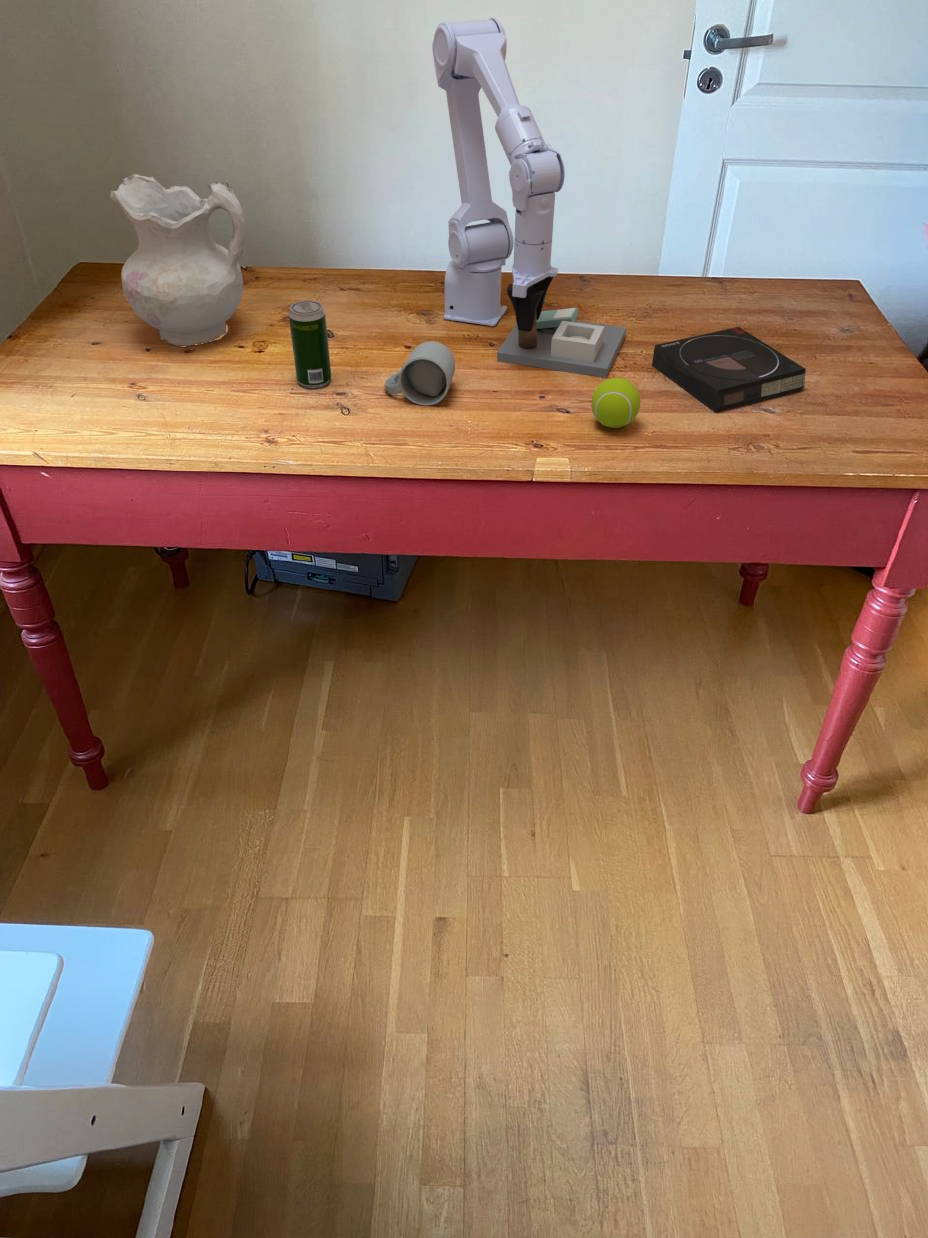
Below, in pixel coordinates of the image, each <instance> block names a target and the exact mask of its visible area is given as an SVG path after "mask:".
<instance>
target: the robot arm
mask: <svg viewBox="0 0 928 1238" xmlns="http://www.w3.org/2000/svg"><path fill="white" fill-rule="evenodd" d="M433 36H434V37H433V41H432V46H431V47H432V55H433V56H432V57H433V62H434V63H433V64H434V68H435V76H436V81H437V85H438V87H439V88H440V89H442V90H444V91H445V93H446V102H447V109H448V115H449V122H450V130H451V135H452V136H451V137H452V143H453V151H454V160H455V165H456V172H457V181H458V185H459V186H458V187H459V193H460V194H459V195H460V201H461V205H460V206H459V207H458V209H456V211H455V212H454V213H453V215H452V216H450V218H449V220H448V224H447V225H448V241H447V243H448V253H449V255H450V259H451V260H450V262H449V263H448V265H447V267H446V271H445V276H444V315H443V319H444V320H447V321H455V322H463V323H470V324H474V325H475V324H477V325H484V326H490V327H495V326H496V325H497V323H499V321H500V320H501V318H502V317H503V316H504V314H505V313H506V312H507V310H508V306H507V305H501V297H502V296H501V295H502V294H501V293H502V292H501V291H502V268H503V266H506V260H507V259H509V258H510V257H511V255H512V253H513V263H512V266H511V274H512V281H513V283H509V284H508V286H507V287H506V293H507V294H506V295H507V296H508V298H509V299H510V302H511V304H512V307H513V311H514V315H515V321H516V324H517V326H518V330H520V331H527V332H531V330H532V328H533V324H534V320H535V315H536V320H538V319H539V317H540V314H541V311H543V306H544V301H545V299H546V295H547V294H548V293H547V292H548V290H549V288H550V285H551V283H552V281H553V280H554V277H557V274H558V273H559V269H558V268H556V267H552V264H551V262H552V249H553V248H552V245H553V235H554V233H553V231H554V220H555V219H554V218H555V217H554V216H555V204H556V203H555V201H556V193H558V192H560V191H561V190H562V189H563V186H564V183H565V178H566V177H565V176H566V175H565V174H566V172H565V171H566V170H565V164H564V161H563V157H562V154H561V153H560V151H559V150H558V149H556V148H554V147H552V145H551V144H550V143H546V141H545V140H544V137H543V135H542V133H541V131H540V129H539V126H538V125H537V122H536V120H535V117H534V115H533V113H532V111H531V109H530V108H529V107H528V106H526V105H521V104H520V102H519V99H518V96H517V92H516V91H515V87H514V85H513V82H512V79H511V75H510V73H509V69H508V67H507V64H506V58H507V51H508V49H507V47H508V46H507V43H508V42H507V38H506V37H507V36H506V33H505V29H504V27H503V25H502V23H501V22H500V20H499V19H498V18H496V17H491V18H488V19H480V20H468V21H466V20H465V21H454V22H447V21H442V22H440V23H439V24H438V25H437V27H436V30H435V32H434V35H433ZM481 89H482V91H483V93H484V94H485V96H486V98H487V100H488V103H489V104H490V105H491V107H492V108H493V111H494V113H495V114H496V116H497V118H496V119H497V120H496V122H495V125H494V129H495V132H496V135H497V137H498V140H499V142H500V144H501V147H502V149H503V151H504V153H505V156H506V158H507V160H508V162H509V165H510V170H509V171H508V176H509V177H508V178H509V184H510V188H511V193H512V196H511V197H512V200H511V201H512V207H514V208H515V215H514V216H515V219H514V235H513V231H512V228H511V227H510V223H509V218H508V214H507V213H508V212H507V210H505V209H504V208H502V207H501V206H500V205H498V204H497V203H496V202H494V201H493V197H492V189H491V184H490V183H491V182H490V175H489V167H488V159H487V152H486V151H487V150H486V144H485V136H484V129H483V121H482V111H481V105H480V95H479V93H480V91H481ZM479 221H488V222H483V223H477V224H471V225H469V224H470V223H473V222H479Z"/></svg>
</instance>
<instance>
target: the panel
mask: <svg viewBox="0 0 928 1238" xmlns="http://www.w3.org/2000/svg"><path fill="white" fill-rule="evenodd" d="M626 333H627V327H625V326H617V325H612V324H611V325H610V324H605V323H604V324H603V323H595V322H590V321H583V320H582V321H581V320H577V319H575V321H574V322H569V321H562V322H561V324H560V325H559V327H551V328H541V329H537V346H536V347H534V348H531V349H523V348H520V347H519V343H518V326H517V323H516V324H515V325H514V327H513V328H512V330H511V331H510V333H509V334H508V336H507V337H506V339H505V340H504V341H503V343H502V344H501V346H500V348H498V350H497V352H496V362H503V363H507V364H515V365H520V366H527V367H532V368H533V367H535V368H541V369H548V370H553V371H559V372H567V373H573V374H580V375H585V376H591V377H592V376H593V377H598V378H603V379H604V378H605V379H606V378H607V376H608V374H609V372H610V369H611V368H612V366H613V364H614V361H615V359H616V357H617V355H618V353H619V351H620V348H621V347H622V344H623V341H624V340H625V338H626ZM572 336H581V337H585V338H587V339H588V340H584V339H577V338H570V337H572Z"/></svg>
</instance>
